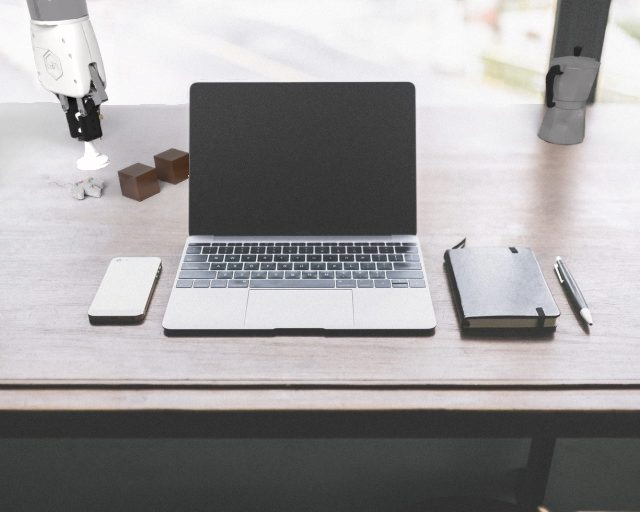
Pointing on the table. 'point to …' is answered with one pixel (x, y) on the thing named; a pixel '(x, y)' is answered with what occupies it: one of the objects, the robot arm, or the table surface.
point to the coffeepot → (567, 98)
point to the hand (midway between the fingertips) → (87, 136)
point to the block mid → (138, 181)
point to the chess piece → (91, 156)
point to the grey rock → (87, 187)
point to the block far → (172, 166)
